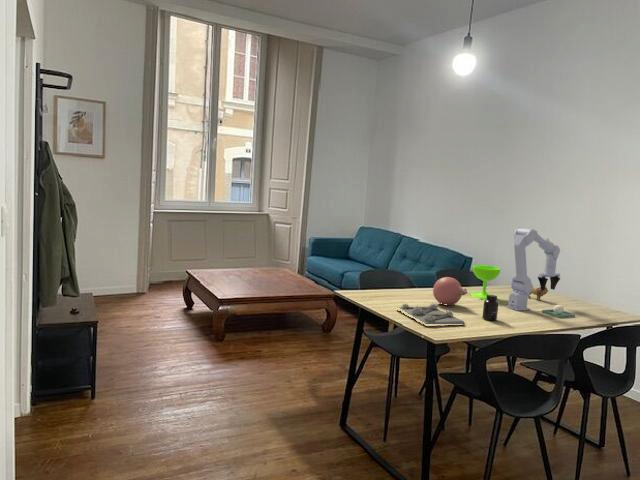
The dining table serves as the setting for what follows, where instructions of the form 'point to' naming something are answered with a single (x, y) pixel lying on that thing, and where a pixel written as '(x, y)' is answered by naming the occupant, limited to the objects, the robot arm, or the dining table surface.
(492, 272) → the wineglass
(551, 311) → the tray
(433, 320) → the grey bumpy flat slab
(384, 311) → the dining table surface
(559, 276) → the robot arm
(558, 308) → the ball
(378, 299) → the dining table surface
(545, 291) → the lion figurine
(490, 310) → the supplement bottle
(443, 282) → the balloon
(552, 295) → the dining table surface
